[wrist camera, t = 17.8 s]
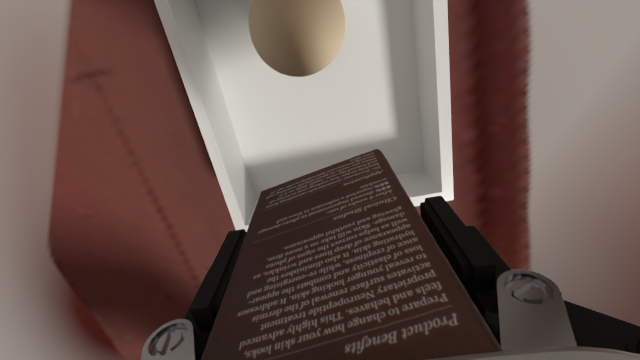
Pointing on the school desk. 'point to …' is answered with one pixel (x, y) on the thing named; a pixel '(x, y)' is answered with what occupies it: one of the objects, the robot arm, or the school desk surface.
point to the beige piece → (297, 34)
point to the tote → (318, 97)
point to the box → (344, 276)
